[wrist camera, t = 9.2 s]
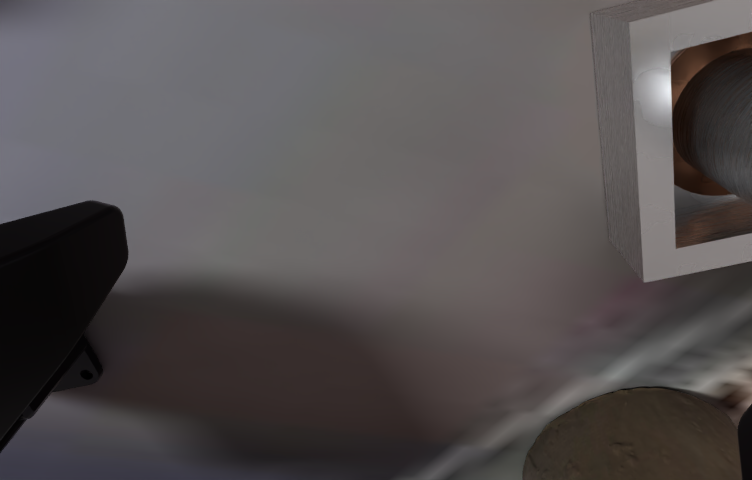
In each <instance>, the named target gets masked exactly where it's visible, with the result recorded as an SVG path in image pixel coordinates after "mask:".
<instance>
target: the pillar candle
mask: <svg viewBox="0 0 752 480" xmlns="http://www.w3.org/2000/svg"><path fill="white" fill-rule="evenodd" d="M523 480H742V474H741V464H740V455H739V445H738V429H737V428H736V426H735V425H734V423H733V422H732V421H731V419H730V418H729V417H728V416H727V415H726V414H724V413H722V412H720V411H719V410H718V409H716V408H715V407H713V406H712V405H711V404H709V403H707V402H704V401H702V400H700V399H698V398H696V397H694V396H691V395H688V394H685V393H681V392H678V391H674V390H673V391H672V390H669V389H662V388H650V389H646V388H635V389H630V390H618V391H616V392H614V393H609V394H605V395H602V396H599V397H596V398H594V399H591V400H588V401H586V402H583V403H582V404H580V405H579V406H578V407H576V408H573V409H572V410H571V411H570V412H567V413H565V414H563V415H561V416H559V417H558V418H556V419H555V420H554V421H552V422H551V423H550V424H548V425H547V426H546V427H545V429H544V430H543V431H542V433H541V434H540V435H539V436H538V438H537V439H536V441H535V443H534V445H533V446H532V448H531V449H530V450H529V452H528V454H527V457H526V460H525V464H524V468H523Z"/></svg>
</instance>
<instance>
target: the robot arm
mask: <svg viewBox="0 0 752 480" xmlns="http://www.w3.org/2000/svg"><path fill="white" fill-rule="evenodd" d="M127 260H128V246H127V239H126V232H125V225H124V218H123V214H122V212H121V210H120V209H119V208H118V207H116V206H114V205H110V204H106V203H102V202H98V201H85V202H82V203H78V204H74V205H70V206H67V207H63V208H59V209H55V210H52V211H48V212H44V213H40V214H37V215H33V216H29V217H25V218H22V219H18V220H14V221H10V222H7V223H3V224H0V453H1V452H2V450H3V449H4V448H5V446H6V445H7V444H8V443H9V441H10V440H11V439H12V438H13V436H14V435H15V434H16V432H17V431H18V430H19V429H20V427H21V426H22V425H23V424H24V422H25V421H26V420H27V419H29V418H31V417H33V416H34V414H35V413H36V412H37V411H38V409H39V408H40V407H41V405H42V404H43V403H44V402H45V400H46V399H47V398H48V396H49V395H50V394H51V393H52V392H56V391H61V390H66V389H71V388H76V387H81V386H85V385H90V384H94V383H96V382H97V381H98V380H99V378H100V377H101V375H102V374H103V368H102V365H101V364H100V362H99V360H98V358H97V357H96V355H95V353H94V352H93V350H92V348H91V346H90V345H89V343H88V341H87V340H86V338H85V336H84V335H83V333H84V331H85V330H86V328H87V327H88V325H89V323H90V322H91V320H92V319H93V317H94V316H95V314H96V313H97V311H98V309H99V308H100V306H101V305H102V303H103V302H104V300H105V298H106V297H107V295H108V294H109V292H110V291H111V289H112V287H113V286H114V284H115V283H116V281H117V280H118V278H119V277H120V275H121V273H122V272H123V270H124V268H125V266H126V264H127ZM86 370H88V371H90V372H91V373H89V372H87V371H86ZM738 445H739V455H740V464H741V474H742V480H752V404H751V405H750V407H749V408H748V409H747V410H746V412H745V413H744V414H743V416H742V417H741V419H740V422H739V425H738Z"/></svg>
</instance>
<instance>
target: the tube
mask: <svg viewBox="0 0 752 480" xmlns="http://www.w3.org/2000/svg"><path fill="white" fill-rule="evenodd" d="M672 132H673V143H674V146H675V148H676V150H677V152H678V154H679V155H680V157H681V158H682V159H683V160H684V161H685V162H686V163H688V164H689V165H690V166H691V167H693V168H695V169H696V170H698V171H699V172H701V173H702V174H704V175H705V176H707V177H708V178H710V179H711V180H713V181H714V182H716V183H717V184H719V185H720V186H722V187H723V188H725V189H726V190H728V191H729V192H731V193H732V194H734V195H735V196H737V197H738V198H740V199H741V200H743V201H744V202H746V203H747V204H749V205H750V206H752V48H745V49H739V50H735V51H732V52H729V53H727V54H724V55H722V56H720V57H718V58H716V59H715V60H713V61H711V62H710V63H708V64H707V65H706V66H704V67H703V68H702V69H701V70H700V71H698V72H697V73H696V74H695V75H694V76H693V77H692V79H691V80H690V81H689V82H688V83H687V85H686V86H685V88H684V89H683V91H682V92H681V94H680V96H679V98H678V100H677V102H676V105H675V108H674V111H673V115H672Z"/></svg>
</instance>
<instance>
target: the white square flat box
mask: <svg viewBox="0 0 752 480" xmlns="http://www.w3.org/2000/svg"><path fill="white" fill-rule="evenodd" d="M590 17H591V29H592V41H593V53H594V65H595V77H596V89H597V101H598V112H599V124H600V136H601V148H602V160H603V172H604V184H605V196H606V207H607V219H608V231H609V240H610V241H611V243H612V244H613V245H614V246H615V248H616V249H617V250H618V251H619V253H620V254H621V255H622V256H623V258H624V259H625V260H626V261H627V263H628V264H629V265H630V266H631V267H632V269H633V270H634V271H635V272H636V274H637V275H638V276H639V277H640V279H641V280H642V281H643V282H644V283H646V282H651V281H656V280H661V279H666V278H671V277H675V276H680V275H685V274H690V273H695V272H700V271H705V270H710V269H715V268H720V267H725V266H730V265H735V264H740V263H745V262H750V261H752V206H750V205H749V204H747V203H746V202H744V201H743V200H741V199H740V198H738V197H737V196H735V195H734V194H732V193H731V192H729V191H728V190H726V189H725V188H723V187H722V186H720V185H719V184H717V183H716V182H714V181H713V180H711V179H710V178H708V177H707V176H705V175H704V174H702V173H701V172H699V171H698V170H696V169H695V168H693V167H691V166H690V165H689V164H688V163H686V162H685V161H684V160H683V159H682V158H681V157H680V155H679V154H678V152H677V150H676V148H675V146H674V143H673V132H672V115H673V111H674V108H675V105H676V102H677V100H678V98H679V96H680V94H681V92H682V91H683V89H684V88H685V86H686V85H687V83H688V82H689V81H690V80H691V79H692V77H693V76H694V75H695V74H696V73H697V72H698V71H700V70H701V69H702V68H703V67H704V66H706V65H707V64H708V63H710V62H711V61H713V60H715V59H716V58H718V57H720V56H722V55H724V54H727V53H729V52H732V51H735V50H739V49H745V48H752V0H638V1H634V2H630V3H626V4H622V5H618V6H615V7H611V8H607V9H603V10H599V11H596V12H592V13H590Z"/></svg>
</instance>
